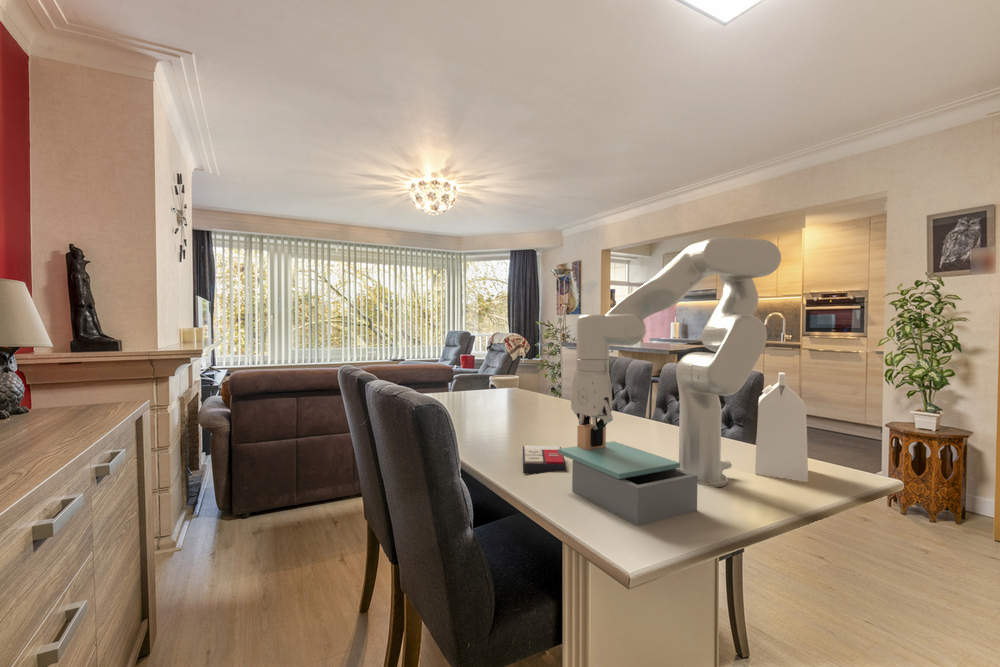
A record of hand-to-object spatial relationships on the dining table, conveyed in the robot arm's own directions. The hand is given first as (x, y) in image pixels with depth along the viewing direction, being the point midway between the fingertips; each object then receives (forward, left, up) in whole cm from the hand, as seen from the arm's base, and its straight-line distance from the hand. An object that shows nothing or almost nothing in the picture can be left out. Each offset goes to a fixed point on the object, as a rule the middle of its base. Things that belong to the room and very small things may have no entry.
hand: (591, 443), depth 110 cm
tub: (0, +13, -10) cm, 17 cm away
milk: (-52, +13, -10) cm, 55 cm away
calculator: (+1, -19, -11) cm, 22 cm away
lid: (0, +8, -2) cm, 9 cm away
